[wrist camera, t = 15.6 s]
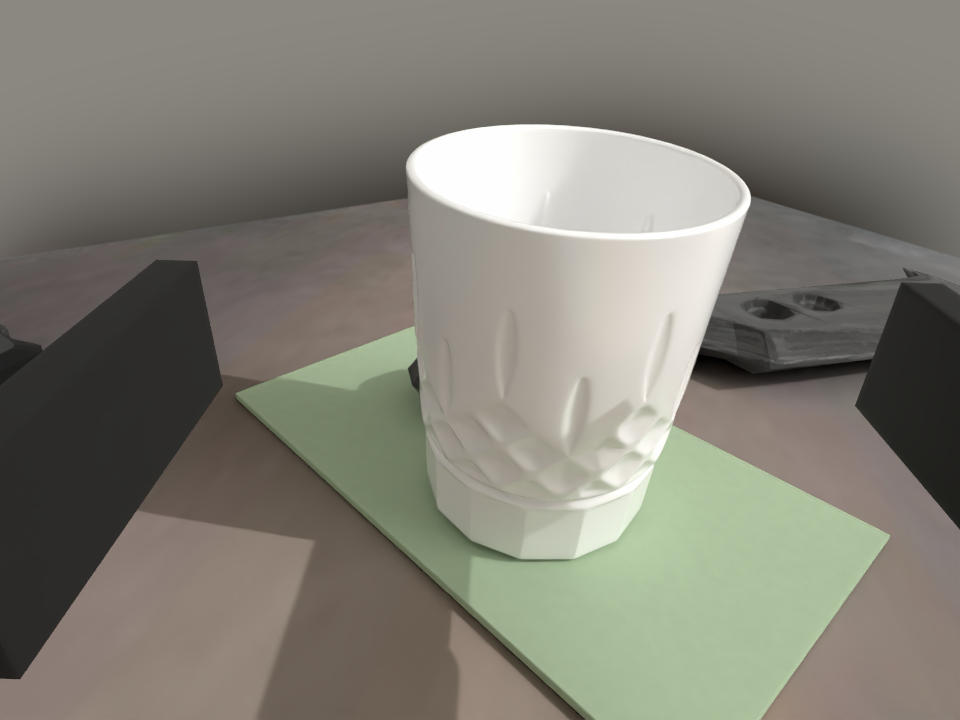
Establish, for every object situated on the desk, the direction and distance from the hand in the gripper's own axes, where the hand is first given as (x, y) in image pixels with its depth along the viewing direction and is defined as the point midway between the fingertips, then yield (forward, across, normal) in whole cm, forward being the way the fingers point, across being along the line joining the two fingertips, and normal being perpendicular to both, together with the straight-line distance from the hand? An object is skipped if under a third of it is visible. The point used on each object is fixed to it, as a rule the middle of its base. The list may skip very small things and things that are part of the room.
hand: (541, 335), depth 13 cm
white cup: (+5, +1, -8) cm, 9 cm away
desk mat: (+7, 0, -8) cm, 11 cm away
